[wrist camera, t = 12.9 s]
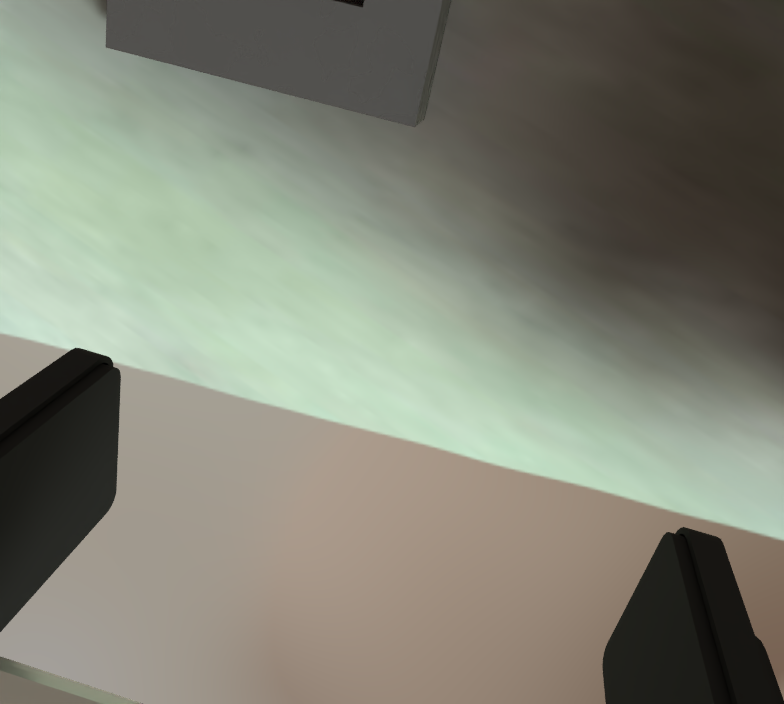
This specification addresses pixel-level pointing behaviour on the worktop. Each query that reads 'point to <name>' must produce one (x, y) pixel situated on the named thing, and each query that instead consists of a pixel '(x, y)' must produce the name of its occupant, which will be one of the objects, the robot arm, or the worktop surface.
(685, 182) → the worktop surface
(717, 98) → the worktop surface
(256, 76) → the flange plate
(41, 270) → the worktop surface
